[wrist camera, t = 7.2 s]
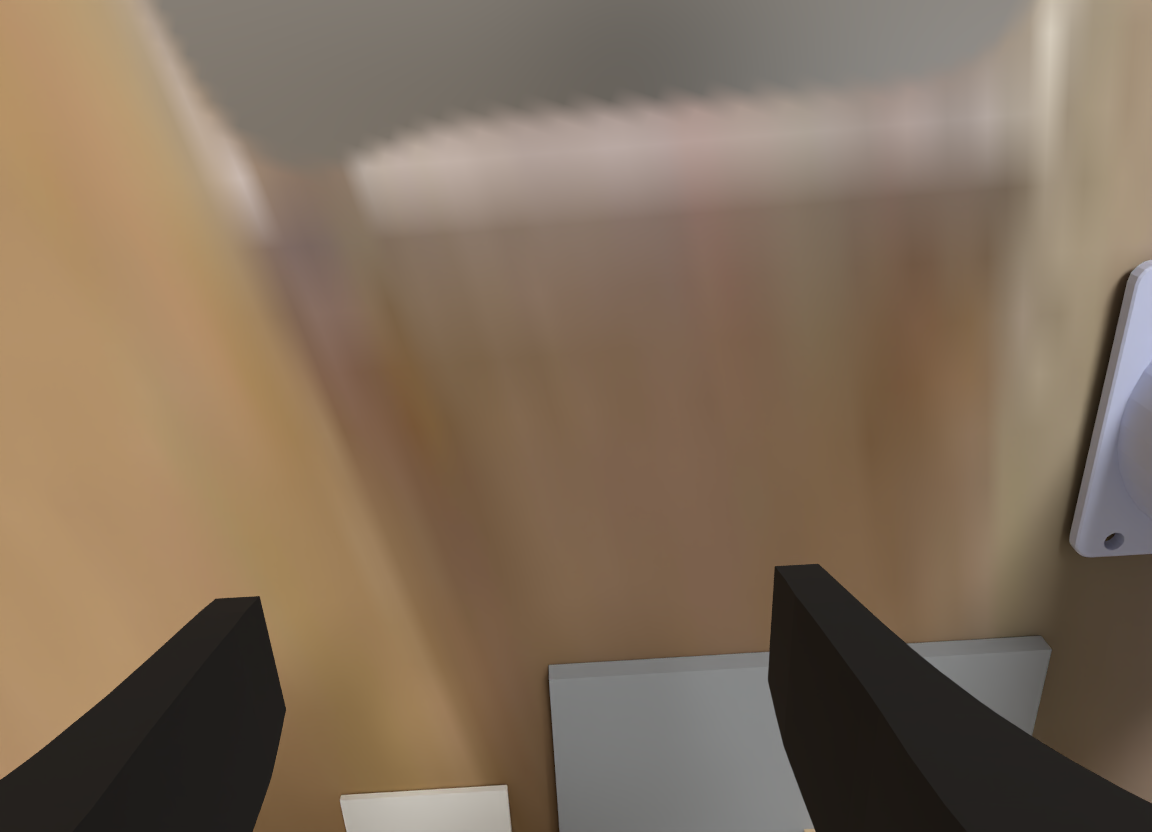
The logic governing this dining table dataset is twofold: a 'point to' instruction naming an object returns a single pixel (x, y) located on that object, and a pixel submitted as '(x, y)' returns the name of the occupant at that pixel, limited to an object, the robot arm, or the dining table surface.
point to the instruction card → (429, 810)
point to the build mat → (723, 735)
